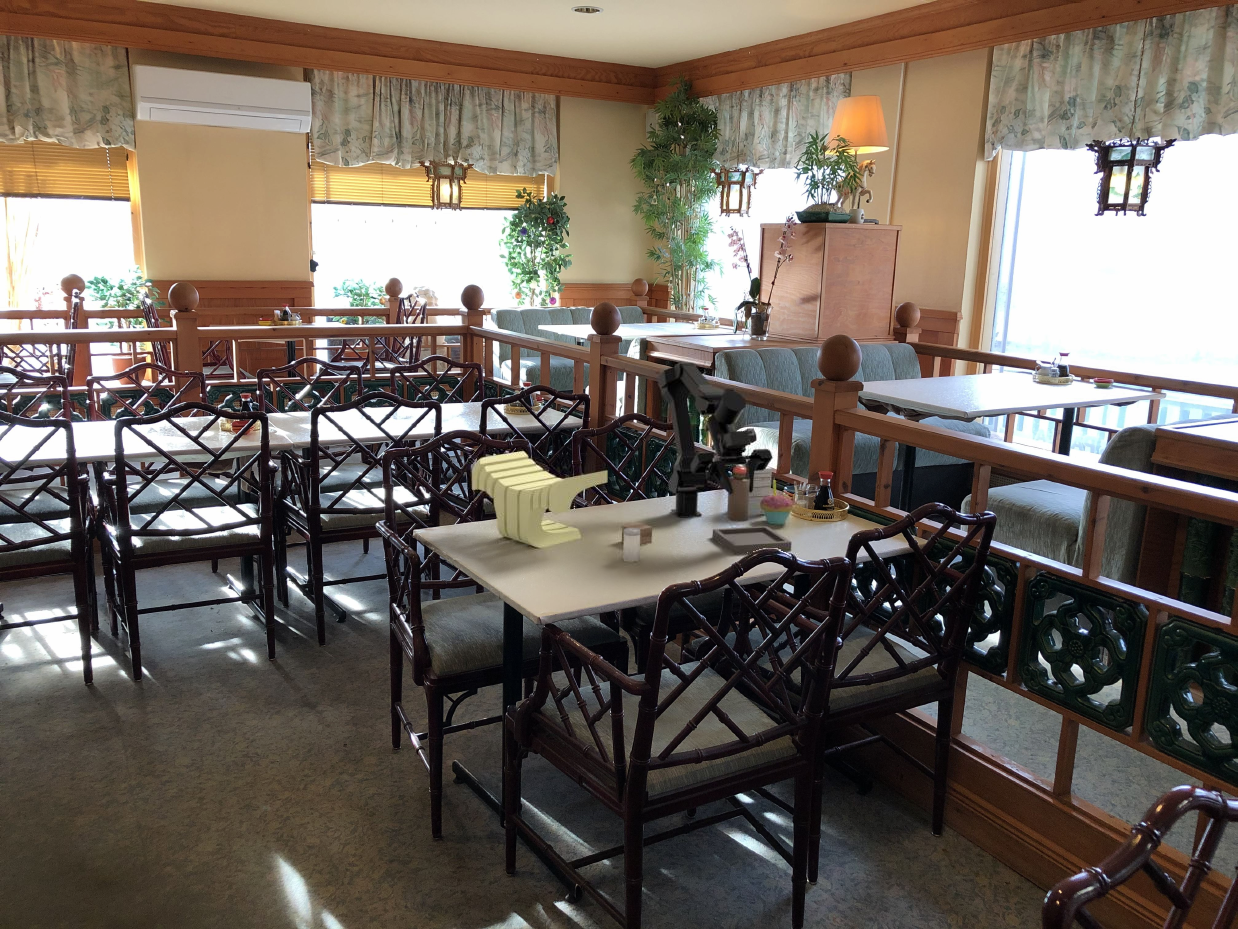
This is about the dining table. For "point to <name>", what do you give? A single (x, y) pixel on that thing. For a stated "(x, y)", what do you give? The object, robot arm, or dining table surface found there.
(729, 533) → the tray
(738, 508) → the soy bottle
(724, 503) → the dining table surface
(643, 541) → the walnut block
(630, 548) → the salt shaker
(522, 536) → the slatted curved stool
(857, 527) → the dining table surface
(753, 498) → the supplement box
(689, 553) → the dining table surface
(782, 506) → the cupcake
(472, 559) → the dining table surface
